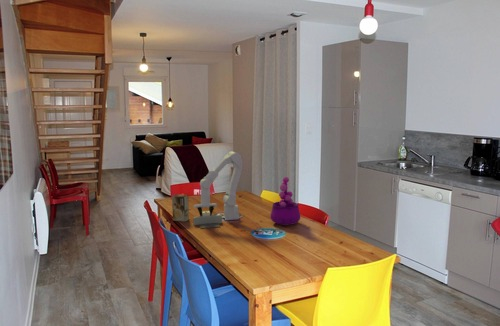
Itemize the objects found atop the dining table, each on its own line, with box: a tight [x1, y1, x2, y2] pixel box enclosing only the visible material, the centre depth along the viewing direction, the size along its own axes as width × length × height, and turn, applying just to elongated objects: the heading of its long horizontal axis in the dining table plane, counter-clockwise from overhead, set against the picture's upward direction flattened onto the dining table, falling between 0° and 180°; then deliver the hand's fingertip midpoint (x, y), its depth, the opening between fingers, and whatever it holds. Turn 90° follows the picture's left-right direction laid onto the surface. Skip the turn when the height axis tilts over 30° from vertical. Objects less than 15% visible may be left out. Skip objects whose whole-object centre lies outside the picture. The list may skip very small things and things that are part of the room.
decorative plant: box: [269, 176, 301, 226], centre depth 261 cm, size 19×18×30 cm
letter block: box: [202, 210, 210, 216], centre depth 268 cm, size 5×5×6 cm
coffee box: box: [171, 194, 190, 222], centre depth 270 cm, size 9×6×16 cm
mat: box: [198, 223, 221, 230], centre depth 257 cm, size 12×8×1 cm, turn 107°
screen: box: [192, 214, 223, 226], centre depth 261 cm, size 18×1×5 cm, turn 107°
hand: (205, 218), depth 268 cm, fingers closed on letter block, 5 cm apart
